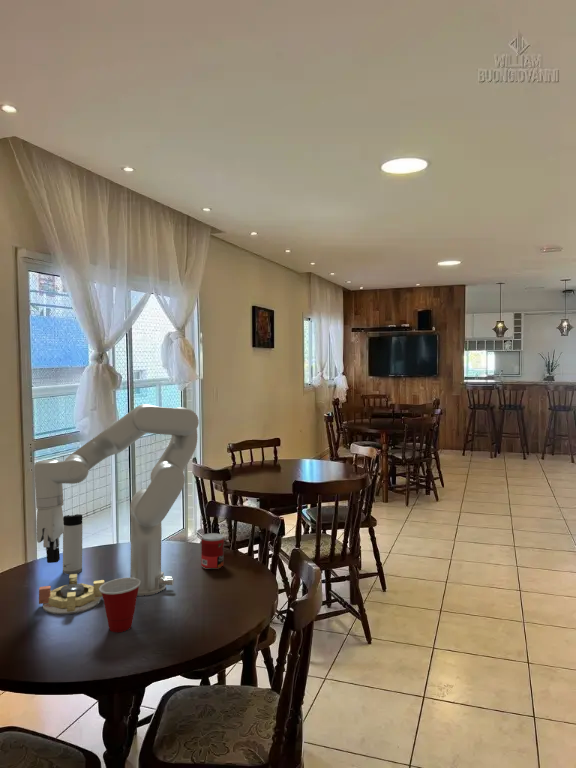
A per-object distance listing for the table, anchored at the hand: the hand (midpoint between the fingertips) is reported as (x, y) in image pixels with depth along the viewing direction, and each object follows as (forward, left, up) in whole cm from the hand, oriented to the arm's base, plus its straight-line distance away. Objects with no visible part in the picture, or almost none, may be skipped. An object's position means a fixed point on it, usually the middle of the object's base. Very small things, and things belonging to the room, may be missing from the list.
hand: (53, 561), depth 163 cm
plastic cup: (-27, +15, -12) cm, 33 cm away
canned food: (-42, -34, -12) cm, 55 cm away
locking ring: (-7, +1, -10) cm, 12 cm away
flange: (-7, +1, -12) cm, 14 cm away
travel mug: (+5, -24, -12) cm, 27 cm away
